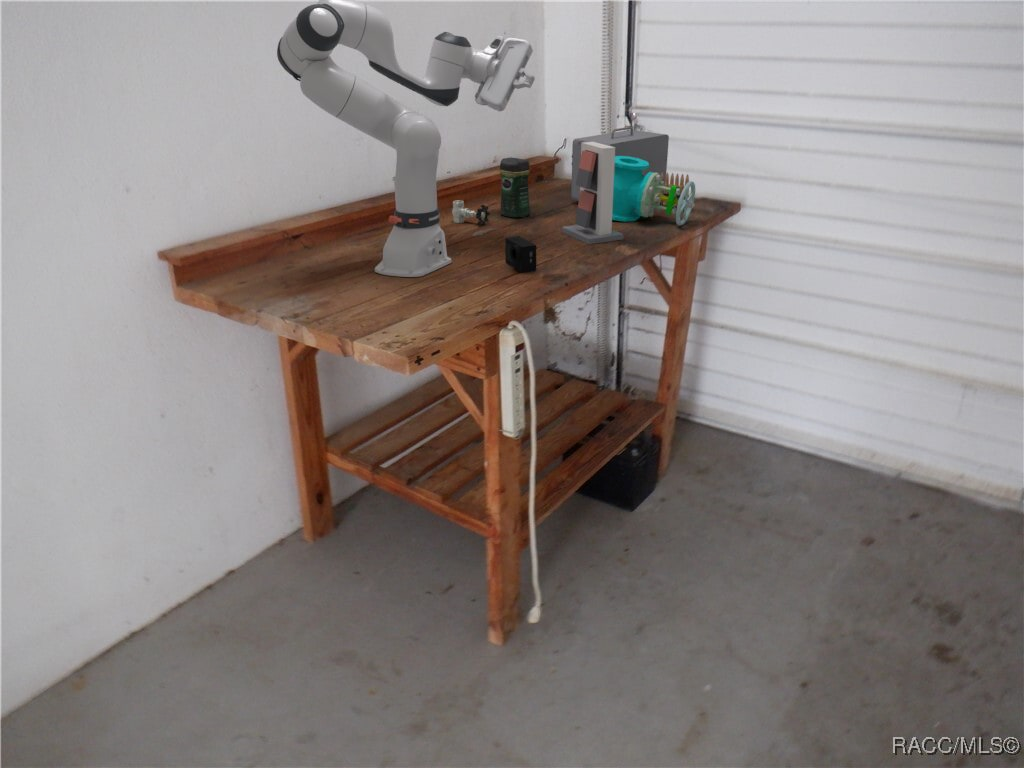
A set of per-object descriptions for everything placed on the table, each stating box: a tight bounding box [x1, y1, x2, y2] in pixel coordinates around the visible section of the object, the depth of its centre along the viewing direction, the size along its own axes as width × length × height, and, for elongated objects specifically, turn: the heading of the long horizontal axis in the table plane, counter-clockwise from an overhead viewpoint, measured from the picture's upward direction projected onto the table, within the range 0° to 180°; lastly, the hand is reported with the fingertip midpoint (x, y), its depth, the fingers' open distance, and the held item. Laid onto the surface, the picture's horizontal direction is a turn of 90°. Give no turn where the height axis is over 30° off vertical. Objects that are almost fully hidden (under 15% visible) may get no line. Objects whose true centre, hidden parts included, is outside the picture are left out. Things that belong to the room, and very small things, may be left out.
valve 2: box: [612, 156, 696, 227], centre depth 259 cm, size 14×18×30 cm
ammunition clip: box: [659, 171, 690, 212], centre depth 275 cm, size 11×2×12 cm, turn 60°
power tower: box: [561, 142, 624, 245], centre depth 241 cm, size 12×16×27 cm
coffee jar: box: [499, 156, 531, 219], centre depth 267 cm, size 10×8×19 cm
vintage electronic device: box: [570, 126, 670, 202], centre depth 285 cm, size 32×18×25 cm, turn 133°
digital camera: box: [504, 235, 537, 273], centre depth 218 cm, size 10×5×7 cm, turn 26°
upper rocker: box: [576, 151, 597, 189], centre depth 237 cm, size 1×6×10 cm, turn 27°
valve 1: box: [451, 200, 491, 226], centre depth 261 cm, size 7×7×12 cm
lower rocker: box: [574, 190, 595, 228], centre depth 242 cm, size 1×6×10 cm, turn 27°
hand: (532, 82), depth 220 cm, fingers closed
